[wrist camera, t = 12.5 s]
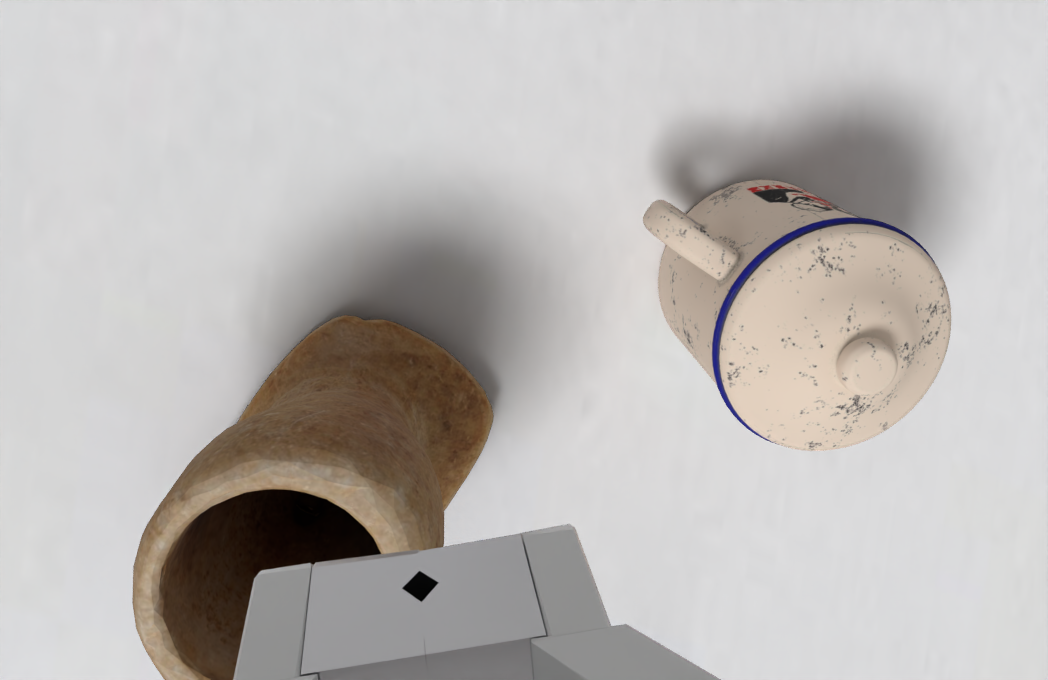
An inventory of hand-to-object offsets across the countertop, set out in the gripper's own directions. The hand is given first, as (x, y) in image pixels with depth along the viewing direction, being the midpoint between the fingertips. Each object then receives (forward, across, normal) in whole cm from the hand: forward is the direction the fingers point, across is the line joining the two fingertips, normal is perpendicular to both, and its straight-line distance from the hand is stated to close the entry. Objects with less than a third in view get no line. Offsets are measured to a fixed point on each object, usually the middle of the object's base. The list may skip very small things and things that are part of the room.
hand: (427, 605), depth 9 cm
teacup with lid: (+31, -14, +7) cm, 35 cm away
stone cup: (+31, +5, +14) cm, 35 cm away
